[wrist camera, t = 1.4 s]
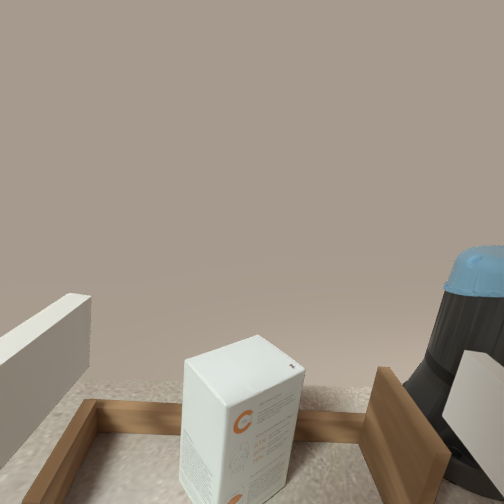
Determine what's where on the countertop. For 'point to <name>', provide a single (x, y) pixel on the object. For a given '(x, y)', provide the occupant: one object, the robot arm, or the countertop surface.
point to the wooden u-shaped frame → (307, 429)
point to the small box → (238, 422)
